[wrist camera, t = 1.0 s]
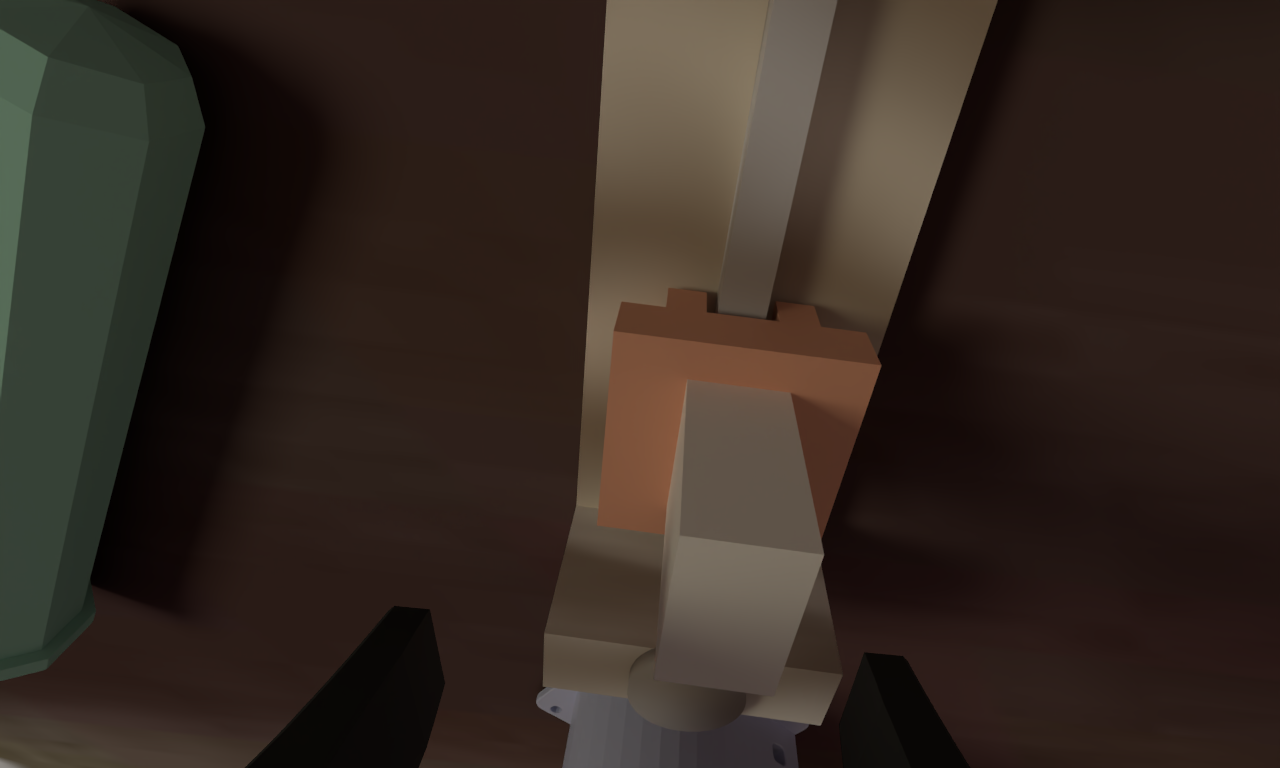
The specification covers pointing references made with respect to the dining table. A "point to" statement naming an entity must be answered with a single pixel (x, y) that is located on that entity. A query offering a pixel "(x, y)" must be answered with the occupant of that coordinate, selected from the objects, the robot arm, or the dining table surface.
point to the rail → (746, 257)
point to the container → (77, 288)
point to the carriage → (730, 472)
